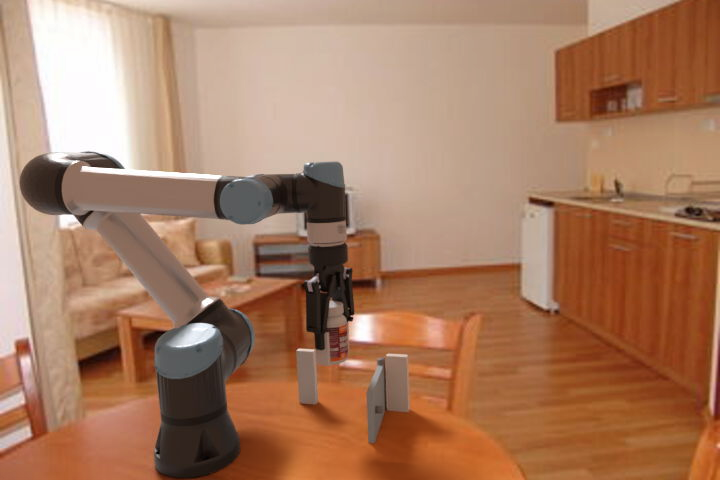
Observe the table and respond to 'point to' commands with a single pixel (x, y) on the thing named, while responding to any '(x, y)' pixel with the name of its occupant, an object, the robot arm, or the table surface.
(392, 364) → the wall frame
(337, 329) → the pill bottle
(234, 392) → the table surface
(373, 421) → the door
